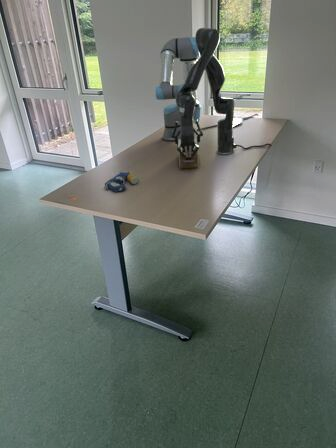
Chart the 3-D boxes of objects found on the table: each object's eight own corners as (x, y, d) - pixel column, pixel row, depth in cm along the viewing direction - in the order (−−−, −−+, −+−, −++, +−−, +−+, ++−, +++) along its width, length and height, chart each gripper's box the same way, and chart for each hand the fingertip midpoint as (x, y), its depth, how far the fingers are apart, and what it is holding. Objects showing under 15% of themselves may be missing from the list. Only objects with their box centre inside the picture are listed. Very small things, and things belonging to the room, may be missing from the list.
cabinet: (198, 165, 198) (198, 147, 193) (179, 166, 199) (178, 149, 193) (197, 154, 214) (196, 137, 208) (179, 156, 215) (178, 139, 209)
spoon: (235, 135, 247) (235, 132, 245) (221, 135, 250) (220, 132, 249) (243, 119, 273) (243, 117, 272) (230, 119, 276) (230, 117, 275)
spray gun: (144, 178, 188) (122, 175, 194) (143, 171, 185) (120, 168, 192) (124, 194, 172) (101, 191, 179) (123, 187, 170) (99, 184, 176)
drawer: (198, 170, 189) (198, 155, 184) (180, 171, 190) (179, 156, 185) (196, 156, 208) (196, 142, 204) (180, 157, 209) (179, 143, 204)
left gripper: (165, 115, 193) (168, 151, 205) (207, 112, 192) (207, 148, 203) (166, 112, 200) (168, 147, 211) (206, 109, 198) (206, 144, 209)
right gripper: (174, 135, 178) (177, 166, 187) (199, 134, 177) (200, 164, 186) (175, 131, 184) (177, 161, 193) (199, 129, 183) (200, 159, 192)
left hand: (187, 148), depth 207 cm, fingers closed on cabinet, 12 cm apart
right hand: (188, 162), depth 189 cm, fingers closed
